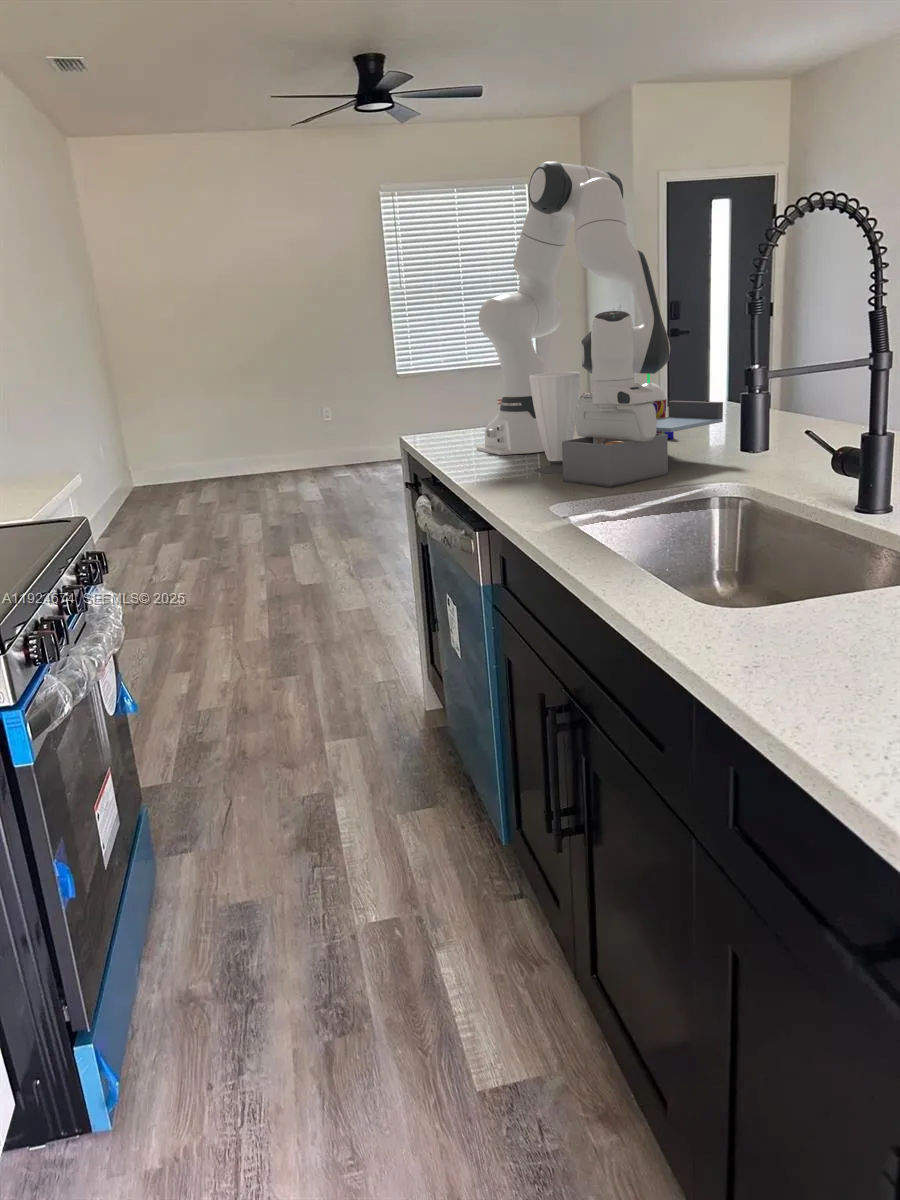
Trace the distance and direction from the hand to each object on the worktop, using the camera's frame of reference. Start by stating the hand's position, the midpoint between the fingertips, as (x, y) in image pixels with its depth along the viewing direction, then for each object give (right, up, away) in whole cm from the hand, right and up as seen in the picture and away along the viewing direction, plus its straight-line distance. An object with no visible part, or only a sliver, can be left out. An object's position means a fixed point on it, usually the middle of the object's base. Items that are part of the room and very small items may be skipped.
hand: (614, 460), depth 184 cm
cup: (-10, 0, +17) cm, 19 cm away
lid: (+14, +9, +8) cm, 19 cm away
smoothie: (+13, +5, +25) cm, 28 cm away
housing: (0, -4, +1) cm, 4 cm away
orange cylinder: (0, -3, +1) cm, 3 cm away
